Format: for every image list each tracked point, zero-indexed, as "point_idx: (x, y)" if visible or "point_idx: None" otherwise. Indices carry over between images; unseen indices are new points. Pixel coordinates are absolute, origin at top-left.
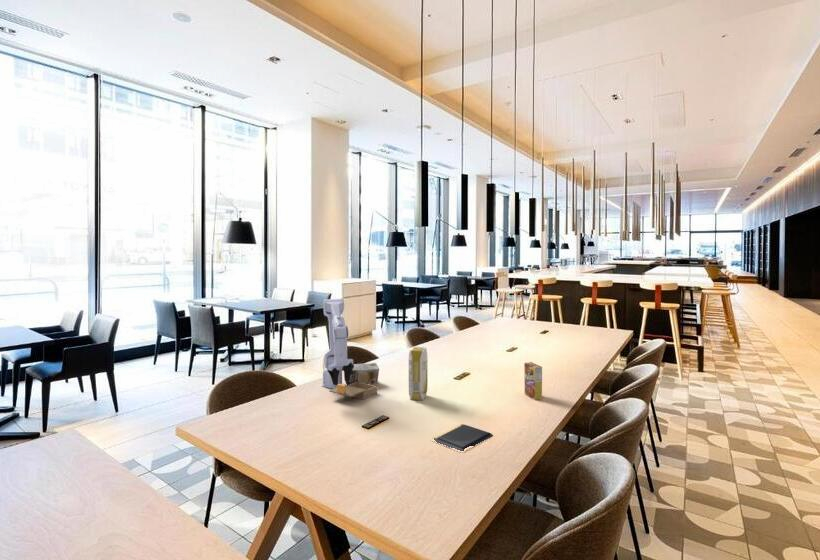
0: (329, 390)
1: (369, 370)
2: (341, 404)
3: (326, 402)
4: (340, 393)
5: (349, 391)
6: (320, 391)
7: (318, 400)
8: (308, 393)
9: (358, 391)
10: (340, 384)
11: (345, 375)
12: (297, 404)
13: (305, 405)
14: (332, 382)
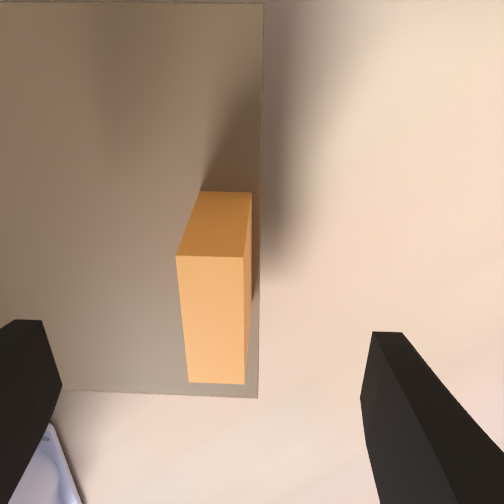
0: (254, 395)
1: None
2: (317, 130)
3: (345, 297)
4: (258, 241)
5: (118, 187)
6: (163, 467)
7: (336, 375)
8: (249, 495)
9: (9, 56)
10: (203, 348)
11: (3, 464)
12: (493, 434)
13: (493, 383)
14: (27, 495)
